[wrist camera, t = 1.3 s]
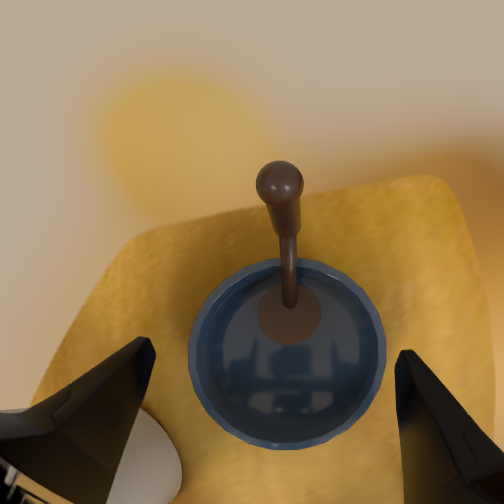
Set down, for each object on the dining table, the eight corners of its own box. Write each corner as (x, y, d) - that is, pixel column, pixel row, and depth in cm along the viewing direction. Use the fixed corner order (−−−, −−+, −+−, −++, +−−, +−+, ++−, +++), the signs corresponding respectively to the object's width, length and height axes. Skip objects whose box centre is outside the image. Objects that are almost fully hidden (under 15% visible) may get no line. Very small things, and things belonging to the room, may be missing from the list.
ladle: (318, 344, 20) (336, 354, 9) (259, 342, 21) (206, 347, 10) (320, 243, 22) (332, 150, 11) (264, 243, 23) (225, 154, 12)
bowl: (347, 445, 18) (354, 464, 15) (190, 406, 21) (170, 416, 18) (386, 287, 21) (401, 277, 18) (229, 256, 25) (215, 241, 21)
